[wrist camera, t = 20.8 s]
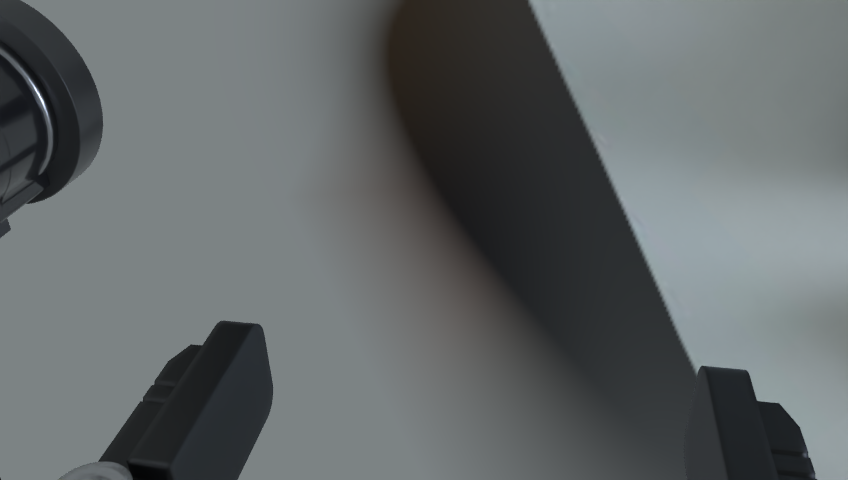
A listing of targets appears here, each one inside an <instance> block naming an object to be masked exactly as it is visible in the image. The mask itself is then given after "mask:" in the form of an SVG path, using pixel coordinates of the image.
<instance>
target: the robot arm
mask: <svg viewBox="0 0 848 480" xmlns="http://www.w3.org/2000/svg"><path fill="white" fill-rule="evenodd" d="M57 143H58V128H57V121H56V117H55V113H54V110H53V107H52V104H51V102H50V99H49V97H48V95H47V93H46V91H45V89H44V87H43V86H42V84H41V82H40V81H39V79H38V78H37V76H36V75H35V74H34V72H33V71H32V70H31V69H30V67H29V66H28V65H27V64H26V63H25V62H24V61H23V60H22V59H21V58H20V57H19V56H18V55H17V54H16V53H15V52H14V51H13V50H12V49H10V48H9V47H8V46H7V45H5V44H4V43H3V42H1V41H0V238H1V237H2V236H3V235H5V234H6V233H7V232H8V231H10V229H11V228H10V225H9V222H8V220H7V218H8V217H9V216H10V215H12V214H13V213H14V212H16V211H17V210H18V209H20V208H21V207H22V206H24V205H25V204H26V203H28V202H29V201H30V200H31V199H33V198H34V197H35V196H37V195H38V194H39V193H41V192H42V191H43V190H45V189H46V188H47V187H49V185H50V182H49V179H48V175H47V169H48V167H49V166H50V164H51V163H52V160H53V158H54V156H55V153H56V149H57ZM272 397H273V383H272V377H271V371H270V366H269V360H268V354H267V348H266V342H265V337H264V332H263V329H262V327H261V326H260V325H259V324H252V323H241V322H231V321H220V322H219V323H217V325H216V326H215V328H214V329H213V330H212V332H211V334H210V335H209V337H208V338H207V339H206V341H205V342H204V344H203V345H202V346H201V345H190V346H188V347H187V348H186V349H184V350H183V351H182V352H180V353H179V354H178V355H177V356H175V357H174V358H172V359H171V360H170V361H168V363H167V364H166V366H165V367H164V368H163V370H162V371H161V373H160V374H159V376H158V377H157V378H156V380H155V384H154V385H152V386H151V387H150V388H149V390H148V391H147V393H146V394H145V396H144V397H143V402H140V403H139V404H138V406H137V407H136V409H135V410H134V411H133V413H132V414H131V416H130V417H129V419H128V420H127V421H126V423H125V424H124V426H123V427H122V428H121V430H120V431H119V433H118V434H117V436H116V437H115V438H114V440H113V441H112V443H111V444H110V445H109V447H108V448H107V450H106V451H105V453H104V454H103V456H102V457H101V458H100V460H99V461H98V462H95V463H90V464H86V465H83V466H80V467H78V468H75V469H73V470H72V471H70V472H68V473H66V474H65V475H63V476H62V477H61V478H59V479H58V480H237V479H238V477H239V475H240V473H241V471H242V469H243V467H244V465H245V463H246V461H247V459H248V457H249V455H250V453H251V450H252V449H253V446H254V444H255V442H256V440H257V438H258V436H259V434H260V432H261V430H262V428H263V426H264V424H265V422H266V420H267V418H268V415H269V412H270V409H271V405H272ZM684 459H685V468H686V475H687V480H817V479H815V471H814V468H813V465H812V462H811V459H810V458H808V451H807V448H806V445H805V442H804V439H803V436H802V433H801V430H800V427H799V426H798V425H797V424H796V422H795V421H794V420H793V419H792V418H791V417H790V415H789V414H788V413H787V412H786V411H785V410H784V409H783V407H782V406H781V405H780V404H779V403H770V402H760V401H757V400H756V396H755V393H754V389H753V386H752V382H751V379H750V375H749V373H748V372H747V370H741V369H730V368H719V367H708V366H701V367H700V369H699V371H698V375H697V380H696V384H695V389H694V394H693V398H692V403H691V408H690V412H689V417H688V422H687V426H686V433H685V443H684ZM0 480H1V478H0Z"/></svg>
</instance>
